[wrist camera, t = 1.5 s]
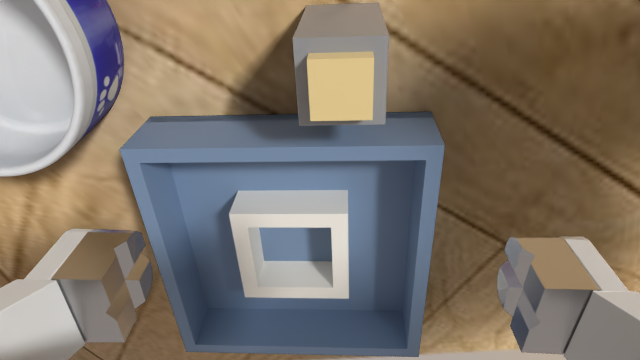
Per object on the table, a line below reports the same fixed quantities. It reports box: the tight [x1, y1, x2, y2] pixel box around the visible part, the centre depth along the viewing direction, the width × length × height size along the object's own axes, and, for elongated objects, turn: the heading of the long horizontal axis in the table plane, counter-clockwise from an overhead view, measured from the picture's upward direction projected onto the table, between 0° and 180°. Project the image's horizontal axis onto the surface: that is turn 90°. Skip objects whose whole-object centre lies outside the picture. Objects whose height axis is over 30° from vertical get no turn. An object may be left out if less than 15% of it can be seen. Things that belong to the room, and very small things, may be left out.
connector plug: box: [292, 3, 389, 126], centre depth 24 cm, size 4×4×9 cm
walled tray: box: [120, 112, 445, 357], centre depth 34 cm, size 20×20×5 cm
